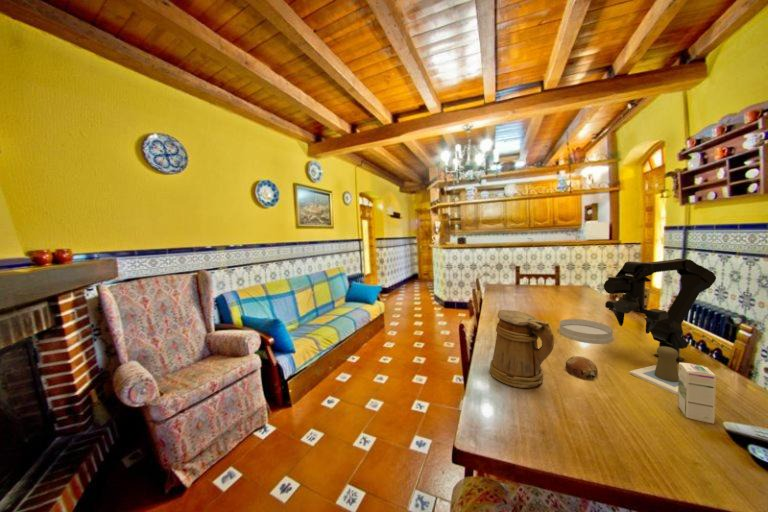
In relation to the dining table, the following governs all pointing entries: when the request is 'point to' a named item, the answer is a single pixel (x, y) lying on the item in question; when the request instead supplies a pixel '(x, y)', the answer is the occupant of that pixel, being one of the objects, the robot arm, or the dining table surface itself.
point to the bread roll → (581, 367)
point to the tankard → (520, 349)
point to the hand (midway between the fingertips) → (633, 329)
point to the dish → (586, 331)
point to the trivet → (655, 379)
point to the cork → (667, 364)
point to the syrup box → (696, 392)
